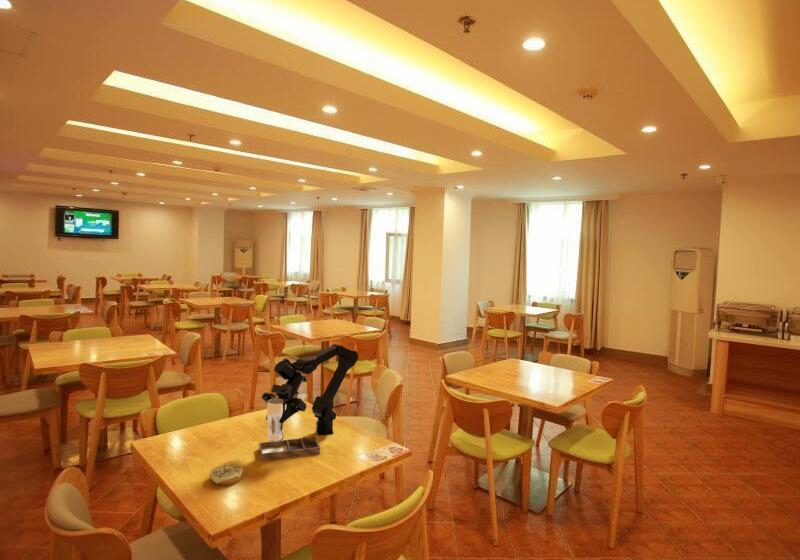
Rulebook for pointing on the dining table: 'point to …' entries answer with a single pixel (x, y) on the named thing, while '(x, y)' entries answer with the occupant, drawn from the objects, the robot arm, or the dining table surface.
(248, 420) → the dining table surface
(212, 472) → the decorated donut
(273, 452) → the box
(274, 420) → the metal cup
